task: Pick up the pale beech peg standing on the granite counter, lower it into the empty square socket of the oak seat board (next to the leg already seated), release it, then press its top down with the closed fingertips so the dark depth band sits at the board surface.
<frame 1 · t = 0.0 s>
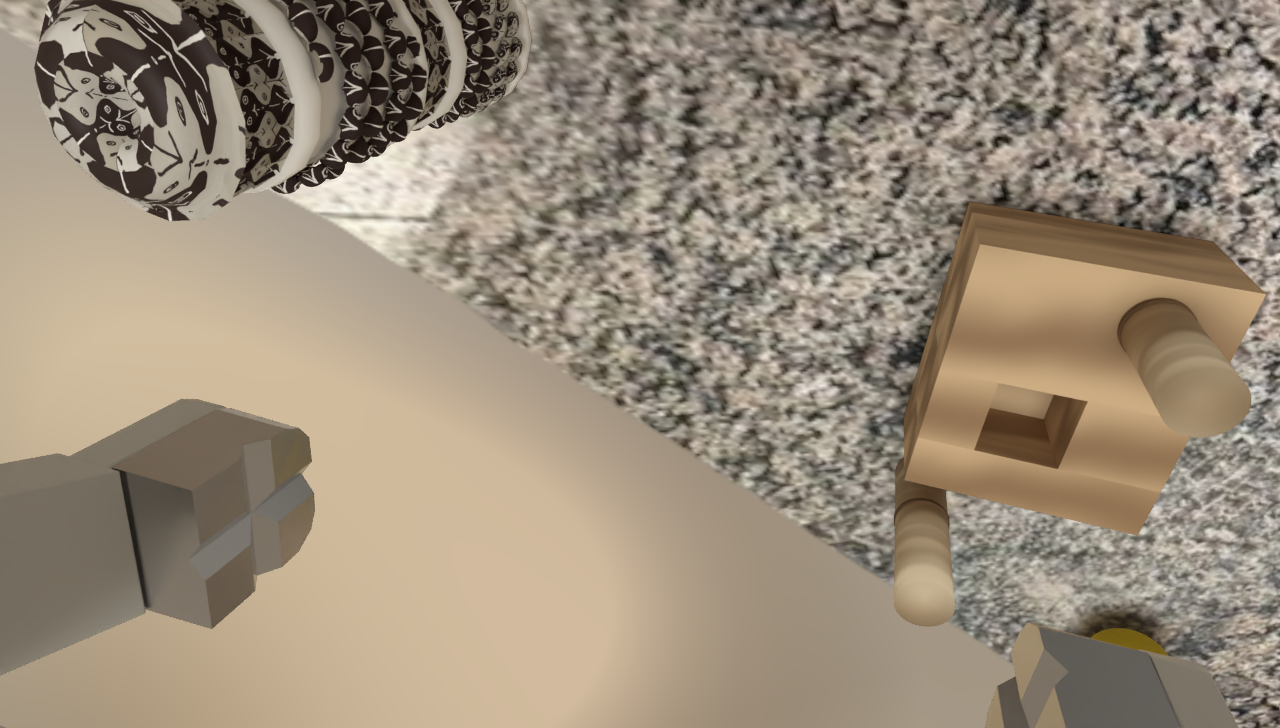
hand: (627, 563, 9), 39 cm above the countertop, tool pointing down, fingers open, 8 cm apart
seat board: (1042, 337, 45), on the countertop
decorative candle: (466, 31, 47), on the countertop
lemon: (1113, 631, 53), on the countertop
peg: (919, 473, 51), on the countertop
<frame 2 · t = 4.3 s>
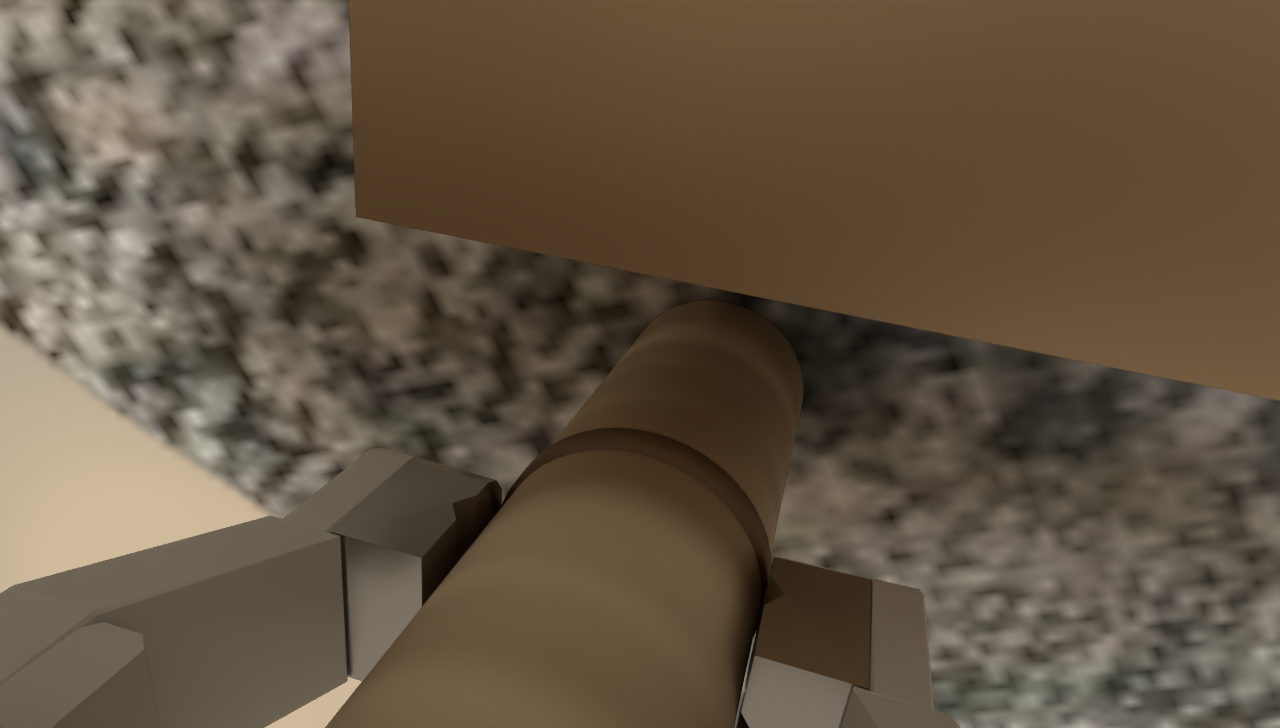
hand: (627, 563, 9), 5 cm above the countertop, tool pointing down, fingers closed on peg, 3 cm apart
peg: (713, 385, 13), on the countertop, touching gripper
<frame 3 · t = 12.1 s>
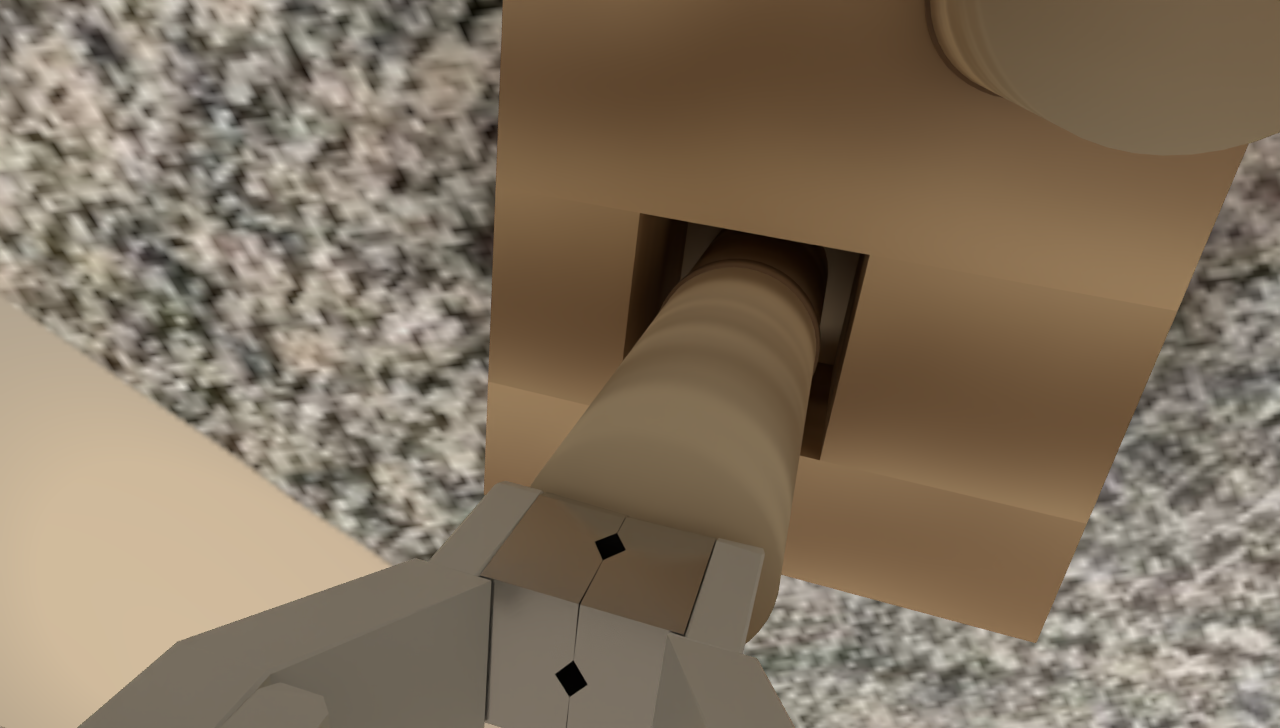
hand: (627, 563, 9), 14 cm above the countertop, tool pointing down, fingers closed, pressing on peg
seat board: (828, 182, 20), on the countertop
peg: (765, 271, 19), point 2 cm above the countertop, touching gripper, seat board
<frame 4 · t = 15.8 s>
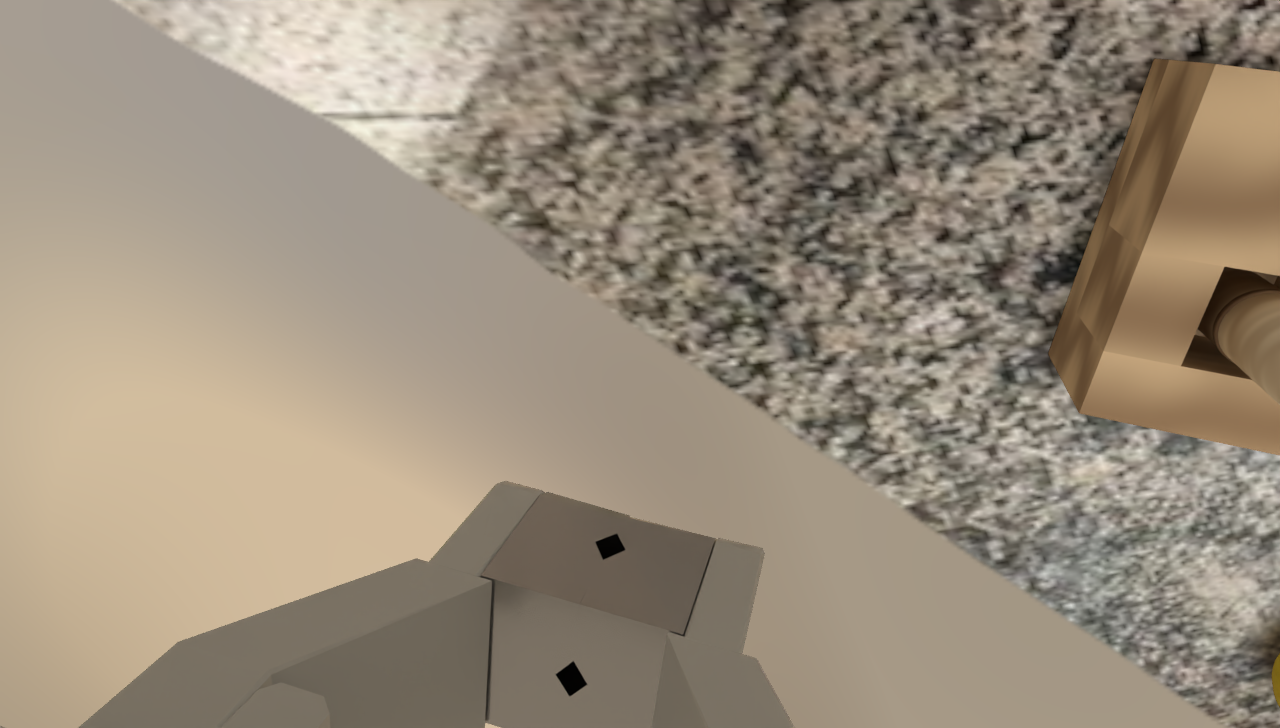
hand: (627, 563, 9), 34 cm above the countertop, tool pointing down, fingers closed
seat board: (1239, 240, 36), on the countertop
peg: (1213, 291, 35), point 2 cm above the countertop, touching seat board
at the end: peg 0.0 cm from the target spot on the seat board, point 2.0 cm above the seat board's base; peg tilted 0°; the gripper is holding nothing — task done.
